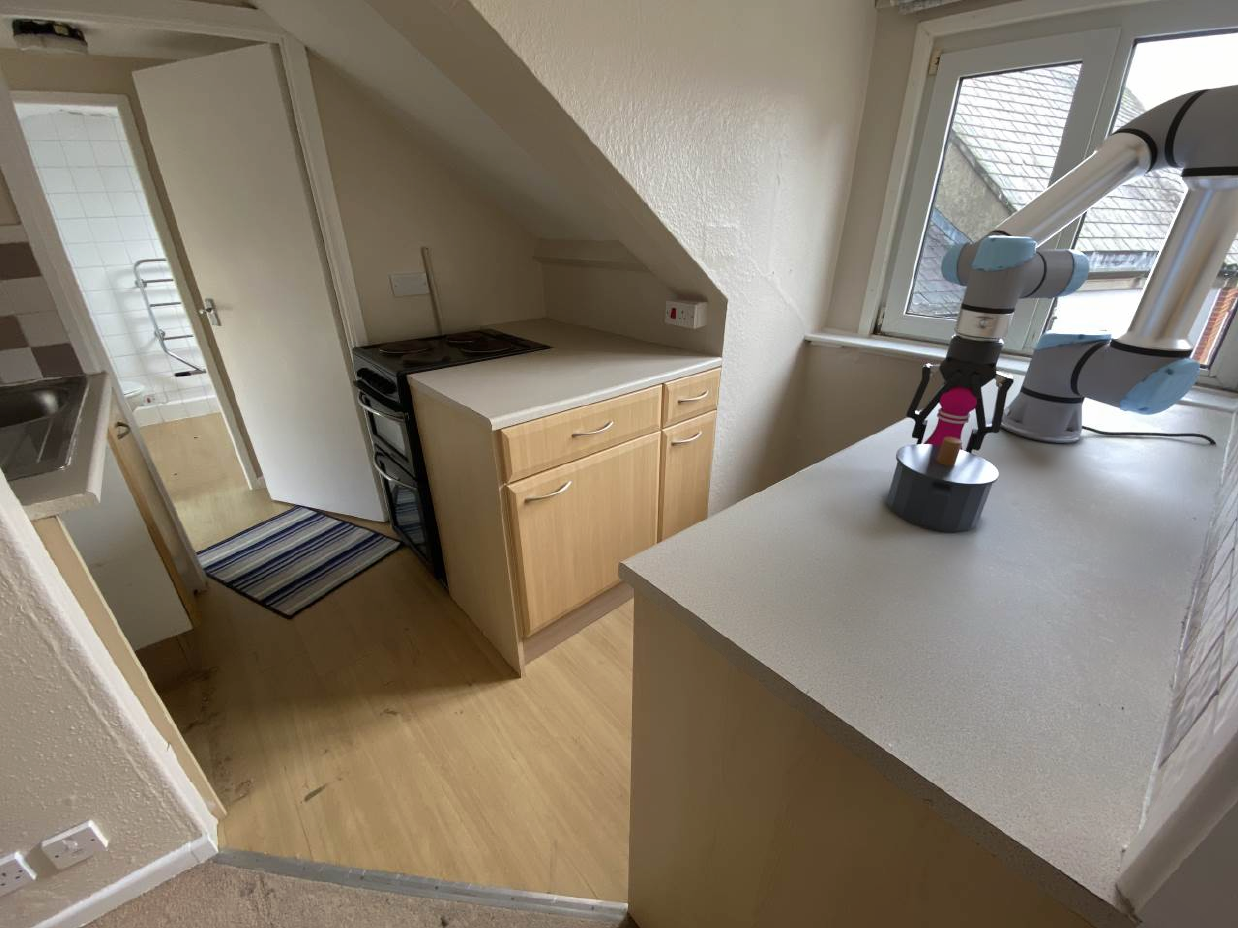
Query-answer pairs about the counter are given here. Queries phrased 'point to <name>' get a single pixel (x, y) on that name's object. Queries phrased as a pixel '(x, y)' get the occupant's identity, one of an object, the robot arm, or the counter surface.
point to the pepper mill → (952, 414)
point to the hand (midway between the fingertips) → (939, 459)
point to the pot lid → (947, 464)
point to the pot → (935, 502)
